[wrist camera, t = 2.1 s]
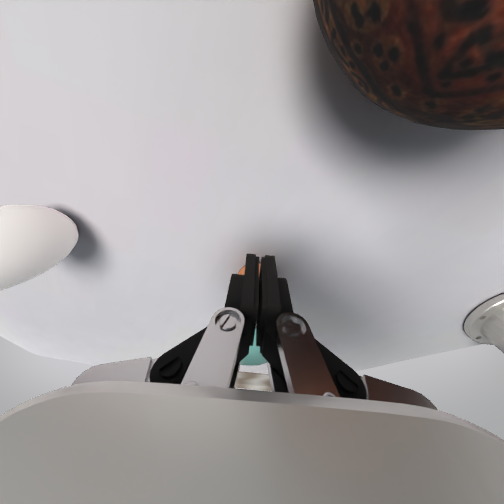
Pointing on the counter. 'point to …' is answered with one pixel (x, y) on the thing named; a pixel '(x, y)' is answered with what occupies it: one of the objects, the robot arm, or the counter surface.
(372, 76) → the ceramic vessel
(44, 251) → the sauce bottle
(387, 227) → the counter surface
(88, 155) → the counter surface
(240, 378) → the strip
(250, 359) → the teal disc
